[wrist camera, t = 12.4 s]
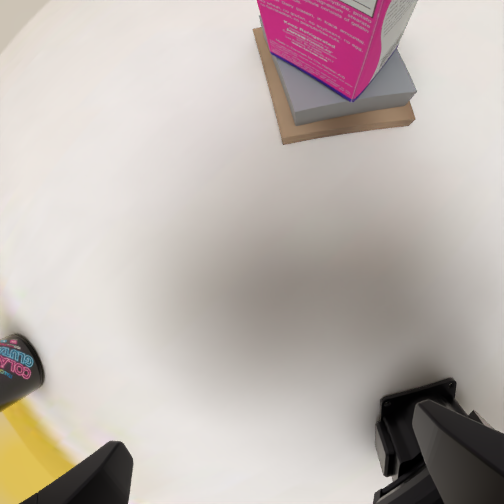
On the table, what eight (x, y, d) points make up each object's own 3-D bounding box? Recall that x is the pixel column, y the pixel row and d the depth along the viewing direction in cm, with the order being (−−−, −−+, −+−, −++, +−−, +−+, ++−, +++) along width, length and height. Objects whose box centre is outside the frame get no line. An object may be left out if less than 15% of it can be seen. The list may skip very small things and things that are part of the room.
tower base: (366, 32, 18) (371, 15, 16) (403, 129, 19) (415, 119, 16) (257, 46, 20) (252, 29, 17) (283, 148, 20) (281, 138, 18)
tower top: (363, 20, 16) (368, 0, 13) (404, 106, 16) (417, 91, 14) (263, 36, 17) (259, 15, 15) (295, 126, 17) (295, 112, 15)
